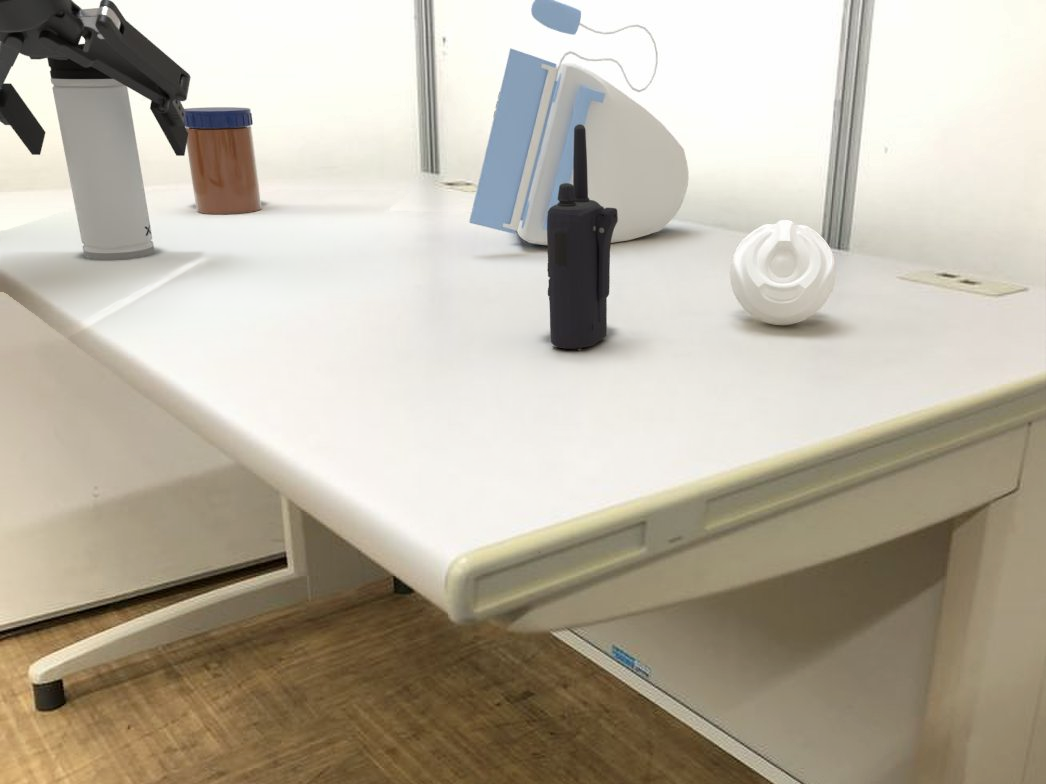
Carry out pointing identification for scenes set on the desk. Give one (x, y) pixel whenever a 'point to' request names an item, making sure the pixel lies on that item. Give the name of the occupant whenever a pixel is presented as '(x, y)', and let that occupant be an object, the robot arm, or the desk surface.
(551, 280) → the two-way radio
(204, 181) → the jar
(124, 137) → the travel mug
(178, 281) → the desk surface
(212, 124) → the jar lid
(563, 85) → the vintage crt computer
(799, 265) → the motion sensor
